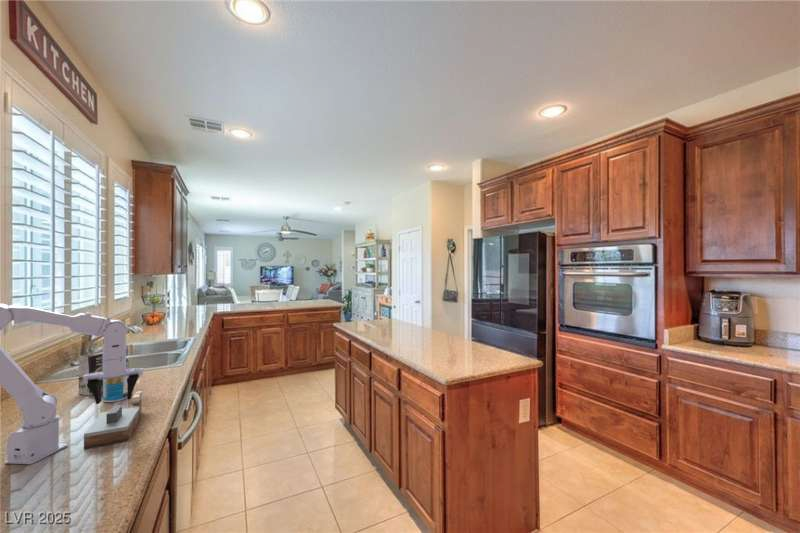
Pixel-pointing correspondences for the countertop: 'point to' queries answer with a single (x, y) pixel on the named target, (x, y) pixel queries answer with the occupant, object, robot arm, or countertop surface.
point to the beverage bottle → (116, 387)
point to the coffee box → (89, 369)
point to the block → (137, 397)
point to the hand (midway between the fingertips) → (114, 400)
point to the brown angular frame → (113, 433)
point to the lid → (112, 421)
